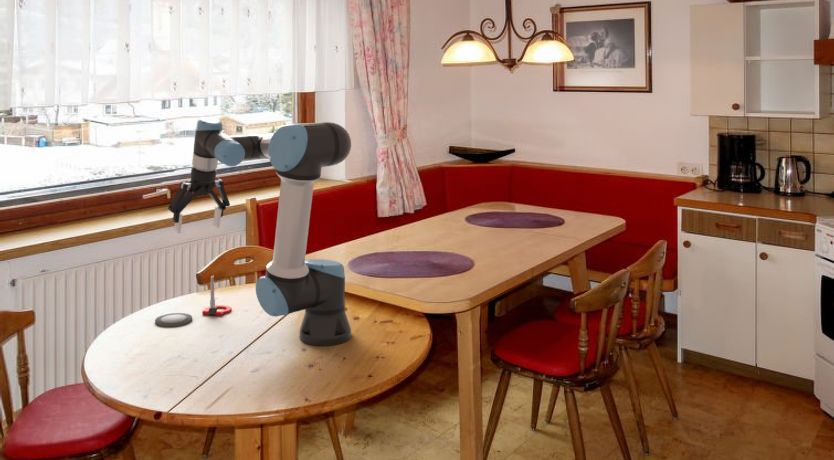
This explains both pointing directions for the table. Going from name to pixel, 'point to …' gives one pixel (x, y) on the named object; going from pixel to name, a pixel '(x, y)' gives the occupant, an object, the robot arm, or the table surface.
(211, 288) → the tow hook
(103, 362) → the table surface
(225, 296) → the table surface
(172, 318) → the plate
